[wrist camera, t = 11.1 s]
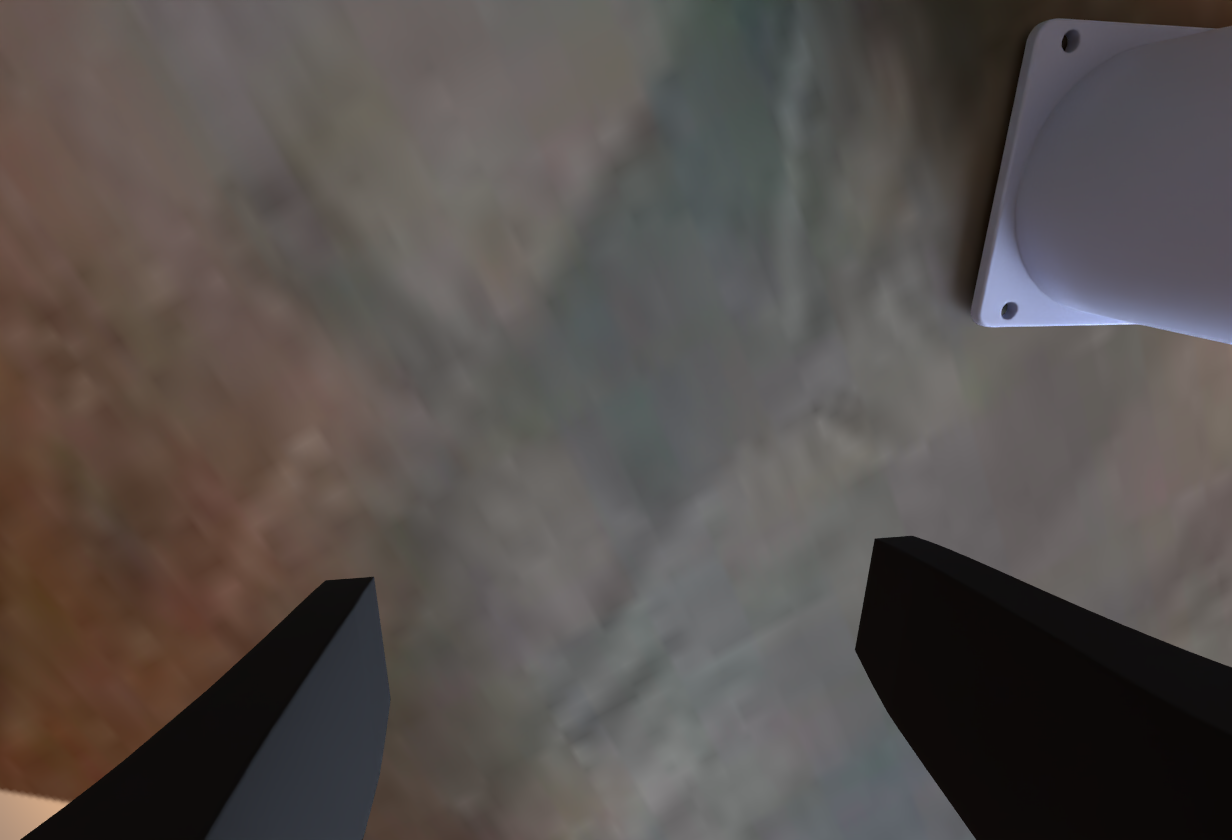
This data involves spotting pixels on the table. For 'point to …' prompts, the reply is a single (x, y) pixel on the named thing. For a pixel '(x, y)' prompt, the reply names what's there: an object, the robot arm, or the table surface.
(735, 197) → the table surface
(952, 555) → the robot arm
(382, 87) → the table surface
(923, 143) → the table surface
